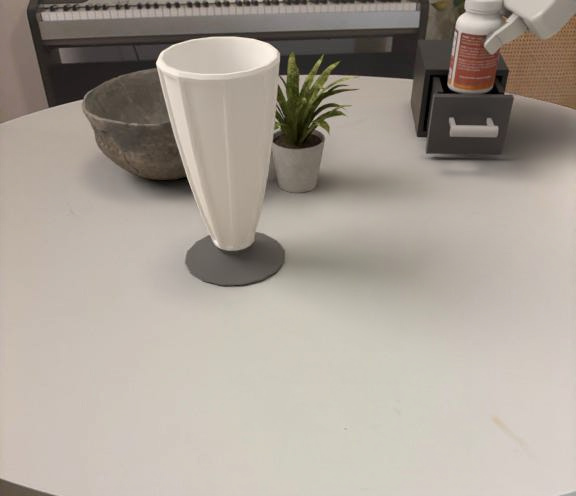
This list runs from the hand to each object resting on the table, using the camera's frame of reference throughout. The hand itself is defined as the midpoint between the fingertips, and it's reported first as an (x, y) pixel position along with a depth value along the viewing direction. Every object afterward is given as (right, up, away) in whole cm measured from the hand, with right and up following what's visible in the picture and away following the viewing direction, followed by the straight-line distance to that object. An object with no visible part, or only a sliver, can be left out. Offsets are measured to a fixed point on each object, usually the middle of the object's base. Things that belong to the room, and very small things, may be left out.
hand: (473, 40), depth 84 cm
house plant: (-23, -19, +2) cm, 30 cm away
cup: (-30, -31, -10) cm, 44 cm away
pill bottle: (+1, -4, +4) cm, 6 cm away
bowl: (-41, -14, +7) cm, 44 cm away
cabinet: (+2, -3, +17) cm, 18 cm away
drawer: (+1, -10, +9) cm, 13 cm away
